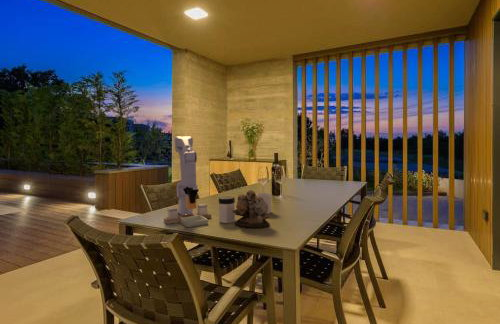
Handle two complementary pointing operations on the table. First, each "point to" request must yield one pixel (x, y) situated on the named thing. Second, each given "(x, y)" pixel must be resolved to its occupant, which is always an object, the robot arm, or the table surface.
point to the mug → (266, 200)
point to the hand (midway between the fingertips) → (191, 202)
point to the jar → (226, 209)
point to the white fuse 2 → (202, 209)
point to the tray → (194, 221)
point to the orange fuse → (190, 205)
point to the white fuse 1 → (172, 213)
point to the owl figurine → (251, 211)
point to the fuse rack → (183, 217)
